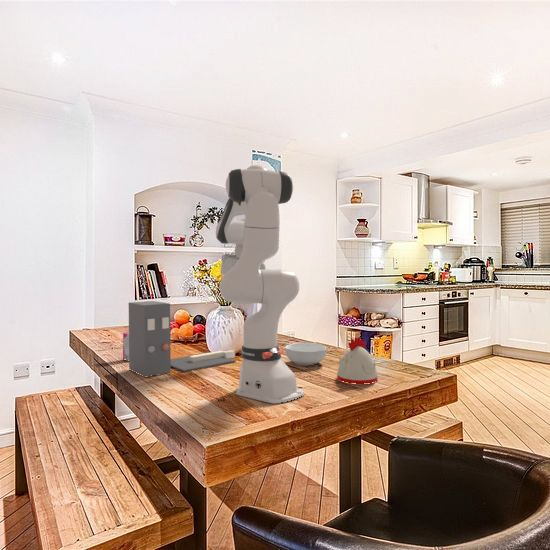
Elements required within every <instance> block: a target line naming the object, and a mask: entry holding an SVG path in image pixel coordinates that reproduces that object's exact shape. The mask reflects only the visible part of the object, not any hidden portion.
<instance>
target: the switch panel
mask: <svg viewBox="0 0 550 550" xmlns="http://www.w3.org/2000/svg"><path fill="white" fill-rule="evenodd" d="M128 333H129V362H128V364H129V365H128V367H129V368H128V369H131V370H133V371H135V372H137V373H139V374H141V375H143V376H151V375H156V376H158V375H157V374H161V375H164V374H163V373H167V374H170V373H169V372H171V369H172V368H171V359H172V358H171V356H172V355H171V303H169V302H168V303H167V302H162V301H155V300H150V301H136V302H135V301H133V302H128ZM171 373H172V372H171ZM139 374H138V375H139ZM141 375H140V376H141ZM143 376H142V377H143ZM151 377H152V376H151Z"/></svg>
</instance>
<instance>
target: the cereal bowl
mask: <svg viewBox="0 0 550 550" xmlns="http://www.w3.org/2000/svg"><path fill="white" fill-rule="evenodd" d="M284 350H285V356H286V357H287V359H288V360H289V361H291V362H292V363H295V364H296V365H298V366H301V365H305V366H304V367H308V366H307V365H312V366H314V364H315V365H316V364H318V363H321V362H322V361H324V360H325V358H326V357H327V350H328V349H327V346H326V345H324V344H321V343H315V342H296V343H289V344H287V345H285V348H284Z"/></svg>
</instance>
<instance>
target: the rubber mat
mask: <svg viewBox="0 0 550 550" xmlns="http://www.w3.org/2000/svg"><path fill="white" fill-rule="evenodd" d="M205 353H206V352H205ZM205 353H204V352H203V354H205ZM199 354H200V353H198V354H197V355H199ZM193 355H194V354H192V355H191V356H193ZM189 356H190V355H187V356H186V355H185V356H181V357H174V358H171V367H173V368H172V369H174V368H176V369H175V370H177V369H178V370H177V371H179V370H181V371H180V372H182V371H183V372H182V373H187V372H186V371H189V372H193V371H192V370H194V371H197V370H196V369H199V370H203V369H202V368H204V369H208V367H209V368H213V367H219V366H223V365H228V364H234V363H236V360H235V359H234V358H230V359H229V358H226V357H219V358H214V359H208V360H203V361H197V362H191V361H189Z"/></svg>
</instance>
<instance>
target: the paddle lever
mask: <svg viewBox="0 0 550 550" xmlns="http://www.w3.org/2000/svg"><path fill="white" fill-rule="evenodd" d="M220 350H221V349H218V350H217V351H212V352H205V354H204V353H198V354H199V355H198V354H192V355H193V356H192V355H188V356H189V361H191V362H197V361H203V360H208V359H214V358H219V357H226V358H229V359H234V358H236V350H233V349H230V350H228V351H220Z"/></svg>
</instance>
